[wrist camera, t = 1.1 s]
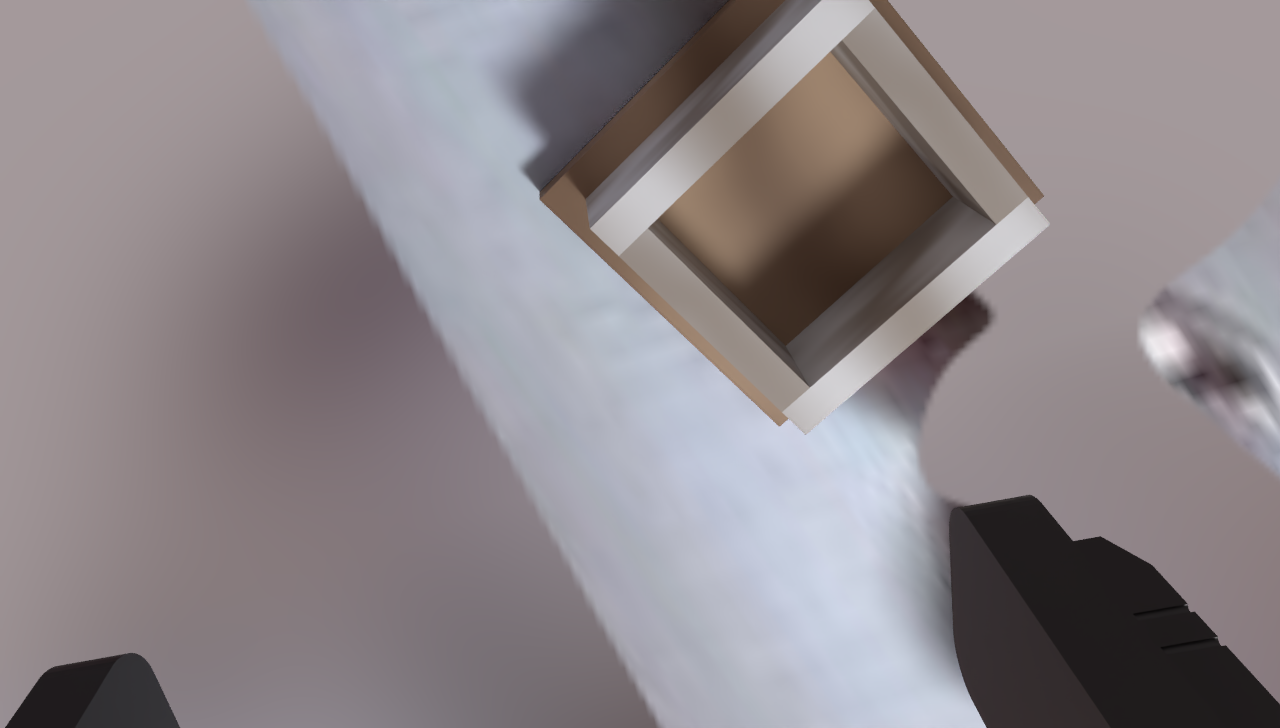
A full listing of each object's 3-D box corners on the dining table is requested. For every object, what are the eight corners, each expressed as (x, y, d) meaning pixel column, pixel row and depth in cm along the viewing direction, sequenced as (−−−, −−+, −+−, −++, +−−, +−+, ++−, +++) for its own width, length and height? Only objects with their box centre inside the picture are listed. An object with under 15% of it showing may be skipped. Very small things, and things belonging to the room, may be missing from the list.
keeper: (811, -84, 30) (853, -87, 26) (1030, 188, 34) (1096, 223, 30) (539, 192, 33) (538, 229, 29) (773, 414, 37) (802, 474, 33)
